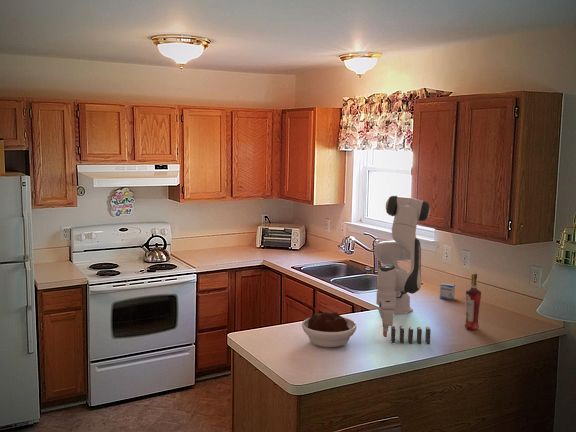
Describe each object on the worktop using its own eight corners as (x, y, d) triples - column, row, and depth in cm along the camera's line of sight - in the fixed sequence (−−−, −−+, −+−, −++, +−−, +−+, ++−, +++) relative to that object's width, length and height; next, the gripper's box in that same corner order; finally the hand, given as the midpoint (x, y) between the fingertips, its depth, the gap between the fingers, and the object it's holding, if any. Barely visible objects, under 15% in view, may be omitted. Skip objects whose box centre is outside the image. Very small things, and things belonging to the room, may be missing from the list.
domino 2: (390, 340, 278) (391, 326, 277) (393, 340, 278) (394, 326, 277) (392, 343, 273) (392, 328, 272) (395, 343, 273) (395, 329, 272)
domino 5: (416, 340, 277) (417, 326, 276) (419, 341, 277) (420, 326, 276) (418, 344, 273) (418, 329, 272) (421, 344, 273) (421, 329, 272)
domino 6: (425, 341, 277) (425, 326, 276) (428, 341, 277) (428, 326, 276) (426, 344, 273) (427, 329, 272) (430, 344, 273) (430, 329, 272)
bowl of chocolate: (322, 331, 290) (323, 301, 288) (366, 342, 274) (367, 311, 272) (290, 344, 271) (291, 312, 269) (335, 357, 255) (336, 324, 253)
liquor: (460, 327, 298) (463, 272, 294) (472, 325, 300) (475, 271, 296) (470, 331, 291) (473, 276, 287) (482, 330, 293) (485, 274, 290)
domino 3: (399, 340, 277) (399, 326, 276) (402, 340, 277) (402, 326, 276) (400, 343, 273) (401, 329, 272) (403, 343, 273) (404, 329, 272)
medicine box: (439, 298, 350) (439, 284, 349) (441, 296, 354) (441, 282, 353) (452, 300, 346) (453, 285, 345) (454, 298, 350) (455, 284, 349)
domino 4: (408, 340, 277) (408, 326, 276) (411, 340, 277) (411, 326, 276) (409, 343, 273) (410, 329, 272) (412, 343, 273) (413, 329, 272)
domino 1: (382, 334, 277) (383, 319, 276) (385, 334, 277) (386, 319, 276) (384, 337, 273) (384, 322, 272) (387, 337, 273) (387, 322, 272)
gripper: (376, 294, 283) (376, 322, 285) (381, 306, 263) (381, 336, 265) (390, 294, 283) (389, 322, 285) (396, 306, 263) (395, 336, 264)
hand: (385, 329), depth 275 cm, fingers closed on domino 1, 4 cm apart
